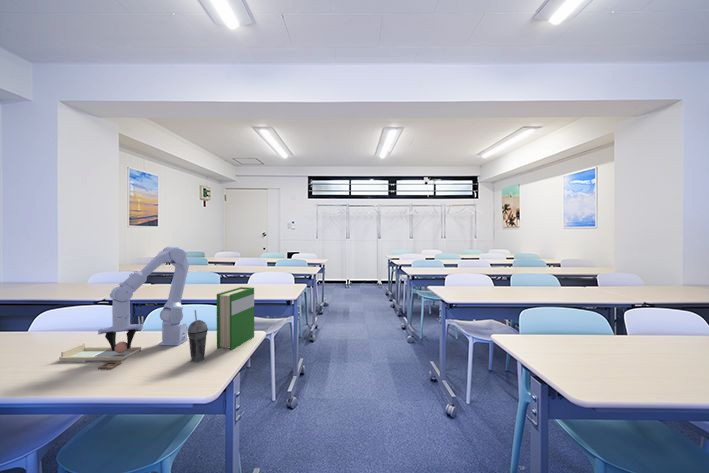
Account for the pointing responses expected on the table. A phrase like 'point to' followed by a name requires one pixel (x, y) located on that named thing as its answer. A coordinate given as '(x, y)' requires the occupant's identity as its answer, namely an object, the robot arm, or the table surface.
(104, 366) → the open wooden square ring
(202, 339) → the beverage cup
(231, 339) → the hardback book
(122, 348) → the ball
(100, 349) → the tray
